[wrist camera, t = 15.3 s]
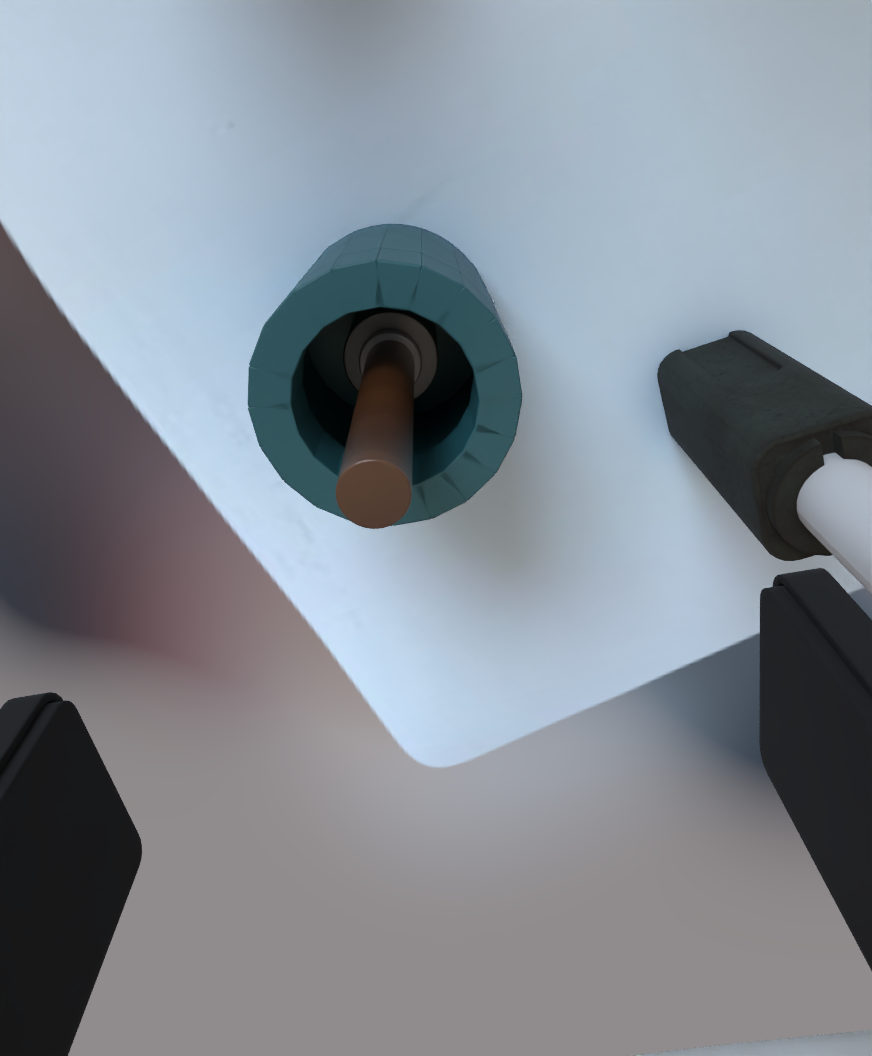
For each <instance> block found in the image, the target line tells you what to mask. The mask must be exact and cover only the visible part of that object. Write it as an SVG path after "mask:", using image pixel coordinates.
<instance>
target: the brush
mask: <svg viewBox="0 0 872 1056" xmlns="http://www.w3.org/2000/svg"><path fill="white" fill-rule="evenodd" d="M438 361H439V356H438V344H437V333H436V325H435V323H434V322H432V321H430V320H428V319H426V318H424V317H422V316H419V315H417V314H415V313H413V312H411V311H407V310H399V309H391V308H383V307H378V308H373V309H368V310H363V311H358V312H357V313H356V315H355V317H354V320H353V323H352V326H351V329H350V331H349V334H348V337H347V340H346V343H345V346H344V351H343V364H344V369H345V372H346V375H347V377H348V379H349V381H350V383H351V384H352V386H353V387H354V388H355V389H356V391H358V396H357V400H356V405H355V409H354V413H353V417H352V422H351V426H350V430H349V434H348V438H347V443H346V447H345V451H344V455H343V460H342V464H341V468H340V472H339V476H338V481H337V485H336V492H335V493H336V501H337V504H338V506H339V508H340V510H341V512H342V513H343V514H344V515H345V516H346V517H347V518H348V519H349V520H350V521H352V522H353V523H355V524H357V525H359V526H362V527H365V528H371V529H378V528H384V527H388V526H390V525H392V524H394V523H396V522H397V521H399V520H400V519H401V518H402V517H403V516H404V515H405V514H406V512H407V511H408V509H409V507H410V504H411V499H412V468H413V420H414V400H415V399H417V398H418V397H420V396H421V395H422V394H423V393H424V392H425V391H426V390H427V389H428V388H429V387H430V385H431V384H432V382H433V380H434V378H435V376H436V373H437V369H438Z"/></svg>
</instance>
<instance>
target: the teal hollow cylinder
mask: <svg viewBox="0 0 872 1056" xmlns="http://www.w3.org/2000/svg"><path fill="white" fill-rule="evenodd" d="M378 307H383V308H391V309H399V310H407V311H411V312H413V313H415V314H417V315H419V316H422V317H424V318H426V319H428V320H430V321H432V322H434V323H435V325H436V333H437V344H438V356H439V361H438V369H437V373H436V376H435V378H434V380H433V382H432V384H431V385H430V387H429V388H428V389H427V390H426V391H425V392H424V393H423V394H422V395H421V396H420V397H418V398H417V399H415V400H414V420H413V468H412V499H411V504H410V507H409V509H408V511H407V512H406V514H405V515H404V516H403V517H402V518H401V519H400V520H399V521H397V522H396V523H394V524H392V525H394V526H395V525H401V524H406V523H412V522H417V521H423V520H428V519H431V518H435V517H437V516H439V515H441V514H443V513H445V512H447V511H449V510H451V509H453V508H455V507H457V506H459V505H461V504H463V503H464V502H466V501H467V500H469V499H470V498H471V497H472V496H473V495H474V494H475V493H476V492H477V491H478V490H479V489H480V488H481V487H482V486H483V485H484V484H486V483H487V482H488V481H489V480H490V479H491V478H492V477H493V476H494V475H495V473H496V472H497V471H498V469H499V467H500V465H501V463H502V462H503V460H504V458H505V456H506V454H507V452H508V450H509V449H510V447H511V445H512V443H513V441H514V437H515V436H516V430H517V425H518V419H519V413H520V408H521V402H522V391H521V385H520V378H519V371H518V364H517V357H516V355H515V352H514V350H513V348H512V345H511V343H510V341H509V338H508V336H507V334H506V332H505V329H504V327H503V325H502V322H501V320H500V318H499V316H498V313H497V311H496V309H495V306H494V304H493V302H492V300H491V297H490V295H489V293H488V291H487V289H486V287H485V285H484V283H483V281H482V279H481V277H480V275H479V273H478V271H477V269H476V268H475V266H474V265H473V264H472V263H471V262H470V261H469V260H468V258H467V257H466V256H465V255H464V254H463V253H462V252H461V251H460V250H459V249H457V248H456V247H455V246H454V245H453V244H451V243H450V242H449V241H447V240H445V239H444V238H442V237H441V236H439V235H437V234H434V233H432V232H430V231H428V230H425V229H422V228H418V227H415V226H409V225H402V224H383V225H376V226H371V227H367V228H363V229H360V230H357V231H354V232H353V233H351V234H349V235H347V236H345V237H343V238H342V239H340V240H339V241H337V242H336V243H334V244H333V245H331V246H329V247H328V248H327V249H326V250H325V251H324V253H323V254H322V255H321V256H320V257H319V259H318V260H317V261H316V262H315V263H314V265H313V266H312V267H311V268H310V269H309V270H308V272H307V273H306V274H305V275H304V277H303V278H302V279H301V280H300V281H299V283H298V284H297V285H296V286H295V288H294V289H293V290H292V291H291V292H290V294H289V295H288V296H287V297H286V299H285V300H284V301H283V302H282V303H281V305H280V306H279V307H278V308H277V310H276V311H275V312H274V313H273V314H272V316H271V317H270V318H269V319H268V321H267V322H266V323H265V325H264V326H263V329H262V331H261V334H260V337H259V339H258V342H257V345H256V347H255V350H254V353H253V355H252V358H251V361H250V366H249V382H248V406H249V408H248V410H249V413H250V417H251V420H252V423H253V426H254V430H255V433H256V436H257V439H258V443H259V446H260V447H261V449H262V451H263V452H264V454H265V455H266V457H267V458H268V459H269V461H270V462H271V464H272V465H273V467H274V468H275V470H276V471H277V472H278V474H279V475H280V477H281V478H282V480H284V482H285V483H287V484H288V485H289V486H290V487H292V488H293V489H294V490H295V491H297V492H298V493H299V494H300V495H302V496H303V497H304V498H305V499H307V500H308V501H309V502H310V503H312V504H313V505H314V506H316V507H317V508H320V509H322V510H325V511H327V512H330V513H332V514H335V515H337V516H340V517H342V518H345V519H347V520H349V519H348V518H347V517H346V516H345V515H344V514H343V513H342V512H341V510H340V508H339V506H338V504H337V501H336V493H335V492H336V485H337V481H338V476H339V472H340V468H341V464H342V460H343V455H344V451H345V447H346V443H347V438H348V434H349V430H350V426H351V422H352V417H353V413H354V409H355V405H356V400H357V396H358V391H356V389H355V388H354V387H353V386H352V384H351V383H350V381H349V379H348V377H347V375H346V372H345V369H344V364H343V351H344V346H345V343H346V340H347V337H348V334H349V331H350V329H351V326H352V323H353V320H354V317H355V315H356V313H357V312H358V311H363V310H368V309H373V308H378ZM349 521H350V520H349ZM392 525H390V526H392Z"/></svg>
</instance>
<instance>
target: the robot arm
mask: <svg viewBox="0 0 872 1056" xmlns="http://www.w3.org/2000/svg"><path fill="white" fill-rule="evenodd" d="M760 751H761V756H762V760H763V764H764V767H765V769H766V771H767V774H768V776H769V777H770V779H771V781H772V783H773V785H774V787H775V789H776V791H777V793H778V795H779V796H780V798H781V800H782V802H783V804H784V806H785V808H786V810H787V812H788V813H789V815H790V817H791V819H792V821H793V823H794V825H795V827H796V829H797V831H798V832H799V834H800V836H801V838H802V840H803V842H804V844H805V846H806V848H807V849H808V851H809V853H810V855H811V857H812V859H813V861H814V862H815V865H816V866H817V868H818V870H819V872H820V874H821V876H822V878H823V880H824V882H825V883H826V885H827V887H828V889H829V891H830V893H831V895H832V897H833V898H834V900H835V902H836V904H837V906H838V908H839V910H840V912H841V914H842V916H843V917H844V919H845V921H846V923H847V925H848V927H849V929H850V931H851V932H852V934H853V936H854V938H855V940H856V942H857V944H858V946H859V947H860V950H861V951H862V953H863V955H864V957H865V959H866V961H867V963H868V965H869V966H870V968H871V970H872V620H871V619H870V618H869V617H868V616H867V614H866V613H865V612H864V611H863V610H862V609H861V608H860V607H859V606H858V604H856V602H855V601H854V600H853V599H852V598H851V597H850V595H849V594H848V593H847V592H846V591H845V590H844V589H843V588H842V587H841V586H840V584H839V583H838V582H837V581H836V580H835V579H834V578H833V577H832V576H831V574H830V573H829V572H828V571H826V570H825V569H822V568H818V569H812V570H805V571H799V572H793V573H787V574H781V575H777V576H776V577H775V579H774V582H773V587H770V588H764V589H763V590H762V591H761V594H760ZM141 856H142V845H141V839H140V837H139V834H138V832H137V830H136V828H135V826H134V824H133V822H132V820H131V818H130V816H129V814H128V812H127V810H126V808H125V806H124V804H123V802H122V800H121V798H120V795H119V794H118V791H117V789H116V787H115V785H114V784H113V781H112V779H111V777H110V775H109V773H108V771H107V769H106V767H105V765H104V763H103V761H102V759H101V757H100V755H99V753H98V751H97V749H96V747H95V745H94V743H93V741H92V739H91V737H90V735H89V733H88V731H87V729H86V727H85V725H84V723H83V721H82V719H81V716H80V714H79V713H78V710H77V709H76V707H75V705H74V704H73V703H71V702H70V701H63V699H62V698H61V697H60V696H59V695H57V694H56V693H44V694H38V695H31V696H25V697H19V698H14V699H11V700H8V701H7V702H6V703H5V704H4V705H3V706H2V708H1V709H0V1056H68V1053H69V1051H70V1048H71V1045H72V1043H73V1040H74V1037H75V1035H76V1032H77V1029H78V1027H79V1024H80V1022H81V1019H82V1016H83V1014H84V1011H85V1008H86V1006H87V1003H88V1000H89V998H90V995H91V992H92V990H93V987H94V985H95V982H96V979H97V977H98V974H99V971H100V968H101V966H102V963H103V961H104V958H105V955H106V953H107V950H108V947H109V945H110V942H111V940H112V937H113V934H114V931H115V929H116V926H117V924H118V921H119V918H120V916H121V913H122V910H123V908H124V905H125V902H126V900H127V897H128V895H129V892H130V889H131V887H132V884H133V881H134V879H135V876H136V873H137V871H138V868H139V865H140V861H141ZM633 1056H872V1030H867V1031H857V1032H847V1033H837V1034H828V1035H817V1036H807V1037H797V1038H787V1039H777V1040H767V1041H756V1042H746V1043H737V1044H727V1045H718V1046H709V1047H701V1048H692V1049H684V1050H675V1051H666V1052H658V1053H649V1054H641V1055H633Z"/></svg>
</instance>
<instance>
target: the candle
mask: <svg viewBox="0 0 872 1056" xmlns="http://www.w3.org/2000/svg"><path fill="white" fill-rule="evenodd" d="M657 375H658V383H659V387H660V392H661V396H662V401H663V405H664V410H665V414H666V419H667V423H668V428H669V431H670V434H671V435H672V437H673V438H674V439H675V440H676V442H677V443H678V444H679V445H680V446H681V448H682V449H683V450H684V451H685V452H686V454H687V455H688V456H689V457H690V458H691V460H692V461H693V462H694V463H695V464H696V466H697V467H698V468H699V469H700V470H701V472H702V473H703V474H704V475H705V476H706V478H707V479H708V480H709V481H710V482H711V484H712V485H713V486H714V487H715V488H716V490H717V491H718V492H719V493H720V494H721V496H722V497H723V498H724V499H725V500H726V502H727V503H728V504H729V505H730V506H731V508H732V509H733V510H734V511H735V513H736V514H737V515H738V516H739V517H740V519H741V520H742V521H743V522H744V523H745V525H746V526H747V527H748V528H749V529H750V531H751V532H752V533H753V534H754V535H755V537H756V538H757V539H758V540H759V541H760V543H761V544H762V545H763V546H764V547H765V549H766V550H767V551H768V552H769V553H770V554H771V555H772V556H774V557H775V558H778V559H781V560H784V561H795V560H801V559H804V558H807V557H811V556H814V555H824V556H830V555H834V556H835V557H836V559H837V560H838V561H839V562H840V563H841V564H842V565H843V566H844V567H845V568H846V569H847V570H848V571H849V572H850V573H851V574H852V575H853V576H854V577H855V578H856V579H857V580H858V581H859V582H860V583H861V584H862V585H863V586H864V587H865V588H866V589H867V590H868V591H869V592H870V593H871V594H872V406H871V405H869V404H868V403H866V402H864V401H863V400H861V399H859V398H858V397H856V396H854V395H853V394H851V393H849V392H848V391H846V390H845V389H843V388H841V387H840V386H838V385H836V384H835V383H833V382H831V381H830V380H828V379H826V378H825V377H823V376H821V375H820V374H818V373H816V372H815V371H813V370H811V369H810V368H808V367H806V366H805V365H803V364H801V363H800V362H798V361H796V360H795V359H793V358H791V357H790V356H788V355H786V354H785V353H783V352H781V351H780V350H778V349H776V348H775V347H773V346H771V345H770V344H768V343H766V342H765V341H763V340H761V339H760V338H758V337H756V336H755V335H753V334H751V333H749V332H746V331H733V332H730V333H729V336H728V337H726V338H723V339H720V340H717V341H714V342H711V343H708V344H705V345H702V346H699V347H696V348H693V349H690V350H687V351H684V352H682V351H680V350H676V351H674V352H672V353H670V354H669V355H668V356H666V357H665V358H664V360H663V361H662V362H661V364H660V366H659V369H658V374H657Z"/></svg>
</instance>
